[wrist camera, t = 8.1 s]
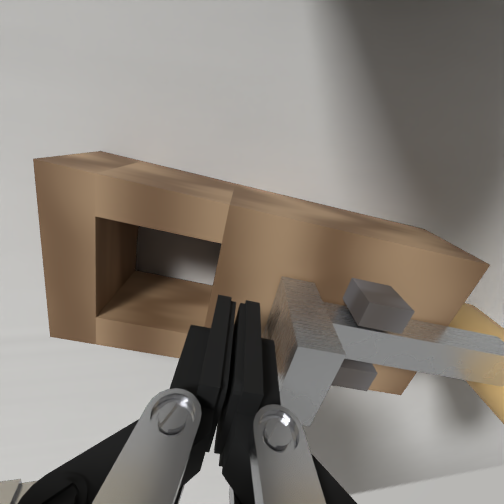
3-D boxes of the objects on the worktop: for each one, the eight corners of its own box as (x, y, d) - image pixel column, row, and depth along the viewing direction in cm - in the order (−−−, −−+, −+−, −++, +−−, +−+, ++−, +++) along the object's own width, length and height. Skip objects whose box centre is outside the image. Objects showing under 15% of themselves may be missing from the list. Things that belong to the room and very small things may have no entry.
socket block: (424, 229, 17) (532, 288, 10) (367, 336, 20) (420, 429, 14) (100, 151, 15) (-15, 164, 8) (100, 285, 18) (19, 367, 12)
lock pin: (508, 323, 13) (618, 404, 9) (468, 372, 15) (549, 461, 11) (281, 276, 12) (298, 346, 8) (262, 335, 14) (267, 420, 10)
